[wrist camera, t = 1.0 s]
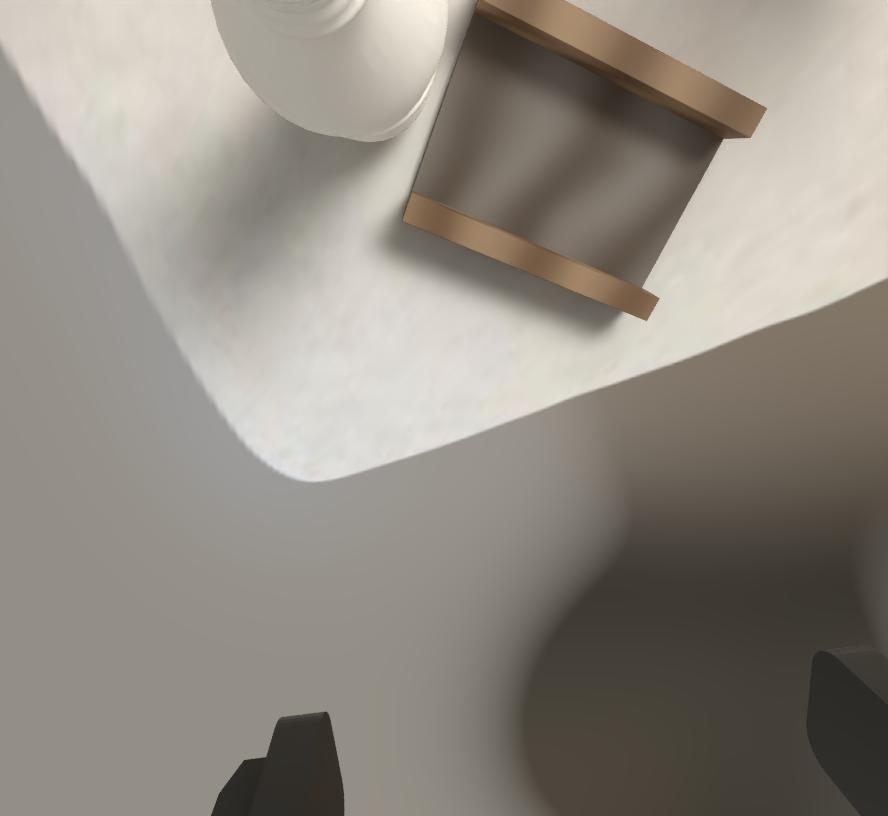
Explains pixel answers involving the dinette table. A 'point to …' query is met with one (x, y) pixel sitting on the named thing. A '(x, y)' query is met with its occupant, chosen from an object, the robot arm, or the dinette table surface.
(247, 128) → the dinette table surface
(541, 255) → the walnut cradle
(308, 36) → the water bottle
